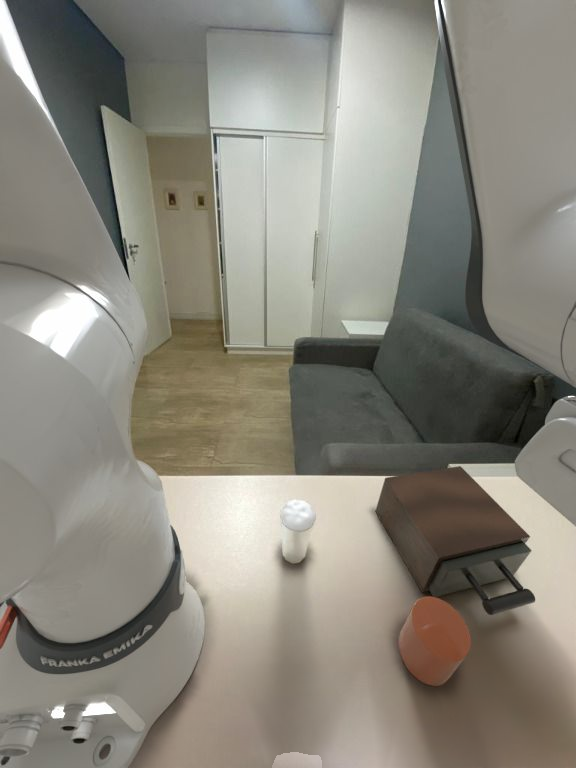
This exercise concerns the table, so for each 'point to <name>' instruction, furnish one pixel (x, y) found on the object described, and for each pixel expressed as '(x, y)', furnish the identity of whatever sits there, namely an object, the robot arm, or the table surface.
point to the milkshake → (296, 529)
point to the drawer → (485, 576)
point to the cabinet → (442, 519)
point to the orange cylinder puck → (433, 641)
